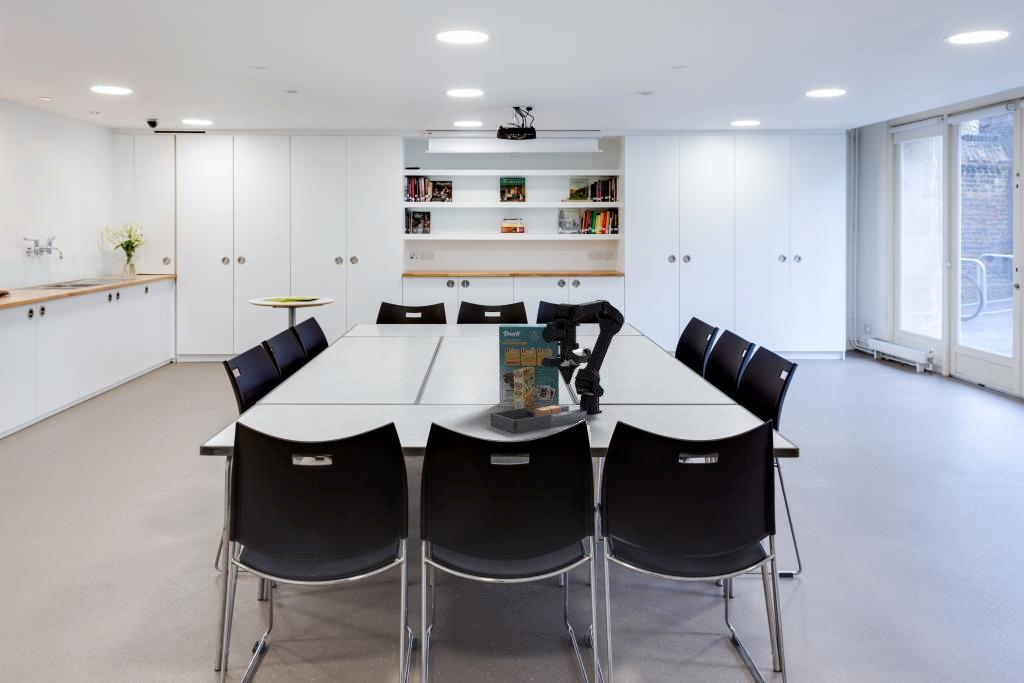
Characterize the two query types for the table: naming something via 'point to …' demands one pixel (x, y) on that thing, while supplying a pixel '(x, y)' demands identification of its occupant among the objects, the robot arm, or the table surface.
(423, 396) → the table surface
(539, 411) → the tan cube
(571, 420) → the slot board
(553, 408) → the chip
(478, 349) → the table surface
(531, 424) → the tray
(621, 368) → the table surface
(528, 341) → the teal product box
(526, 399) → the candy box
